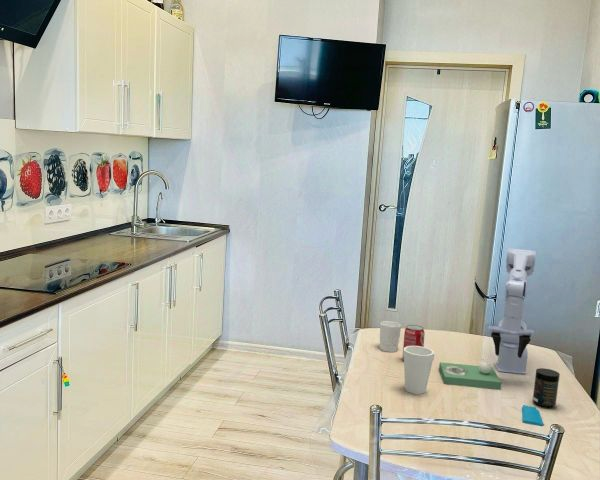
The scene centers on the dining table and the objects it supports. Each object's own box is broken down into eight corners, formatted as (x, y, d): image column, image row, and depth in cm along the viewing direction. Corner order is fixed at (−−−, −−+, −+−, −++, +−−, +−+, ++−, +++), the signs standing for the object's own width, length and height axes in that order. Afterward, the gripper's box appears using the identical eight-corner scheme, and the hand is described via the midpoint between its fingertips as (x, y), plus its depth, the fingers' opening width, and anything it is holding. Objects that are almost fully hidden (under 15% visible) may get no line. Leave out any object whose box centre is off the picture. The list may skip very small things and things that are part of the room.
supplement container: (560, 408, 178) (564, 375, 177) (542, 410, 176) (546, 376, 175) (545, 399, 185) (549, 367, 183) (527, 400, 183) (531, 368, 181)
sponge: (543, 408, 176) (522, 402, 177) (544, 424, 164) (522, 418, 166) (541, 413, 176) (521, 407, 178) (543, 429, 165) (521, 423, 167)
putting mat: (491, 374, 204) (492, 367, 204) (500, 389, 190) (501, 382, 190) (439, 369, 206) (439, 362, 206) (444, 383, 192) (444, 376, 192)
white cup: (400, 353, 221) (402, 327, 219) (379, 351, 221) (381, 326, 219) (397, 346, 228) (399, 321, 227) (377, 345, 228) (379, 320, 227)
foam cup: (432, 387, 188) (435, 348, 186) (428, 398, 180) (432, 357, 178) (402, 382, 191) (406, 344, 189) (397, 392, 183) (401, 352, 181)
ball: (489, 371, 199) (490, 360, 199) (491, 376, 195) (493, 364, 195) (477, 370, 200) (478, 359, 199) (479, 374, 196) (480, 363, 195)
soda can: (422, 366, 208) (425, 330, 206) (401, 363, 209) (404, 328, 207) (422, 359, 215) (425, 325, 213) (402, 357, 216) (405, 323, 214)
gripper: (492, 317, 191) (488, 357, 192) (538, 321, 189) (533, 361, 191) (488, 311, 198) (484, 350, 199) (532, 315, 196) (528, 354, 198)
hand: (508, 355), depth 196 cm, fingers open, 7 cm apart
